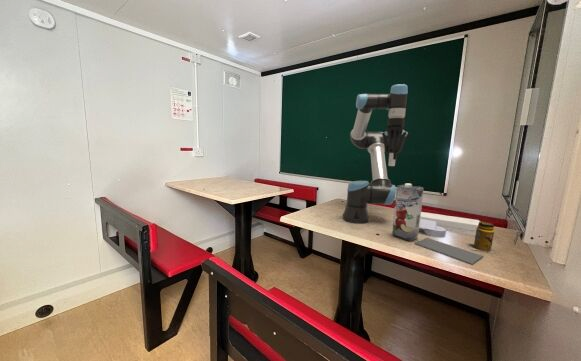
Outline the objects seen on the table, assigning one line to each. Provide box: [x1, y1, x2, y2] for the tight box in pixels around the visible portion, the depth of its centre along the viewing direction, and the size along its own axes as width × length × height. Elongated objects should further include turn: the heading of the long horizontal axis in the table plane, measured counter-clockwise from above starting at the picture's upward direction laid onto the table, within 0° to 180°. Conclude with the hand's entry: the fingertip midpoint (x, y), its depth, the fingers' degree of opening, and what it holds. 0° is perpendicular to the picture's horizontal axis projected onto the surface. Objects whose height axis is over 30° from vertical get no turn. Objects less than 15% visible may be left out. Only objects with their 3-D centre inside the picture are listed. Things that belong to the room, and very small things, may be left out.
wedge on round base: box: [419, 219, 447, 238], centre depth 121 cm, size 9×7×13 cm
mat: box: [414, 237, 484, 266], centre depth 101 cm, size 22×12×1 cm, turn 35°
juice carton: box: [392, 183, 425, 242], centre depth 112 cm, size 9×10×27 cm
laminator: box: [420, 211, 481, 236], centre depth 131 cm, size 34×12×6 cm, turn 61°
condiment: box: [465, 221, 495, 254], centre depth 104 cm, size 7×8×12 cm
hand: (391, 165), depth 118 cm, fingers closed
